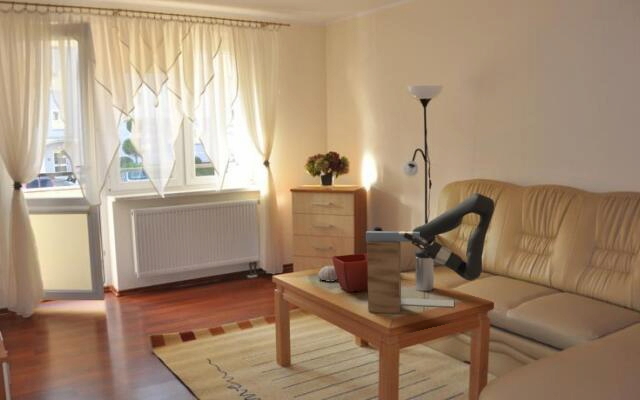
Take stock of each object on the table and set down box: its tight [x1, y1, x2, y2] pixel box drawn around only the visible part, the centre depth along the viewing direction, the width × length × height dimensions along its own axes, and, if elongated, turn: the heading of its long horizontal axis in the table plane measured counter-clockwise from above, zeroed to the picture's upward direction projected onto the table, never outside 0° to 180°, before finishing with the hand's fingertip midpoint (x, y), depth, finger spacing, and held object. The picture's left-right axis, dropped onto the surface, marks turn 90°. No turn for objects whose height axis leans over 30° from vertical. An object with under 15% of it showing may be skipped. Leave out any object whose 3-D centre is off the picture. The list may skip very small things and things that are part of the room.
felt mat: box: [401, 297, 455, 308], centre depth 262 cm, size 10×26×1 cm, turn 76°
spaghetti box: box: [365, 230, 420, 243], centre depth 250 cm, size 4×24×4 cm, turn 76°
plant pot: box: [331, 253, 368, 293], centre depth 291 cm, size 19×19×17 cm
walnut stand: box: [366, 241, 402, 314], centre depth 252 cm, size 11×14×32 cm
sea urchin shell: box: [317, 265, 338, 281], centre depth 313 cm, size 13×14×8 cm
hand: (405, 233), depth 248 cm, fingers closed on spaghetti box, 4 cm apart
